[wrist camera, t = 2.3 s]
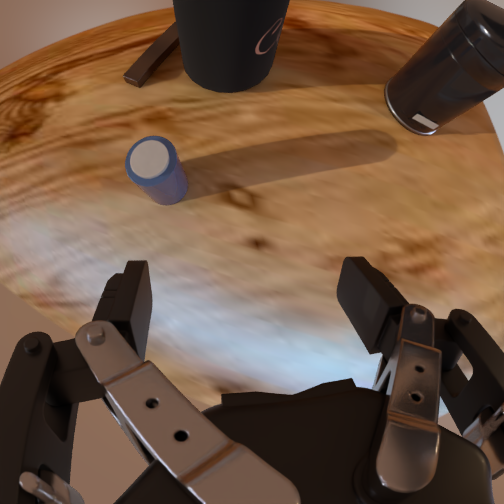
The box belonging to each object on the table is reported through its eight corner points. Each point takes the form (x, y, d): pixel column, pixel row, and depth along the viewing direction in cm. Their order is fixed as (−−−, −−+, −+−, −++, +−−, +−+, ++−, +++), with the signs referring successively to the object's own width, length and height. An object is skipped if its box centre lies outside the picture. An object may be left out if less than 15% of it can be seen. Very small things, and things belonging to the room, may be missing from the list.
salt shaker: (162, 158, 31) (143, 125, 22) (196, 177, 31) (186, 147, 23) (139, 192, 31) (113, 169, 22) (173, 213, 31) (155, 194, 22)
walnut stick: (178, 26, 32) (177, 19, 30) (192, 31, 32) (191, 24, 30) (125, 82, 31) (122, 75, 29) (139, 88, 31) (136, 82, 29)
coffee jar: (263, 105, 32) (295, -12, 14) (173, 91, 31) (144, -25, 13) (277, 42, 33) (306, -64, 15) (197, 30, 32) (190, -77, 14)
